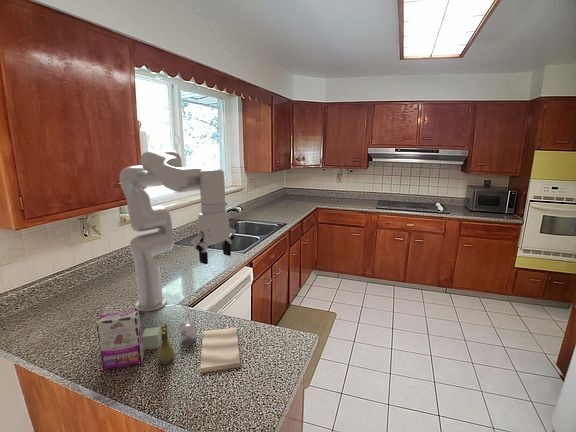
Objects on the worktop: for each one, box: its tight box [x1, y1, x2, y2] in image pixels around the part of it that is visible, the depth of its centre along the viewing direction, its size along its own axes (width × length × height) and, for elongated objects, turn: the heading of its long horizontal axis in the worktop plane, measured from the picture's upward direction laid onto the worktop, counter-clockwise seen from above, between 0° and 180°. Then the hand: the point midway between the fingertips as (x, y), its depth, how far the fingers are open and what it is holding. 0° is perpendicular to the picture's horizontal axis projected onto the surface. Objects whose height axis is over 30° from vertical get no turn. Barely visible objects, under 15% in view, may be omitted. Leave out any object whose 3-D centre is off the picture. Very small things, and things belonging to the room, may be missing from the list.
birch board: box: [199, 327, 241, 373], centre depth 106 cm, size 20×12×2 cm, turn 13°
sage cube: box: [142, 326, 162, 351], centre depth 108 cm, size 5×5×5 cm
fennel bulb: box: [157, 323, 175, 365], centre depth 99 cm, size 6×5×12 cm
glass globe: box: [179, 320, 197, 345], centre depth 111 cm, size 5×5×6 cm
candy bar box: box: [95, 309, 145, 371], centre depth 98 cm, size 11×5×16 cm, turn 105°
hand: (216, 259), depth 103 cm, fingers open, 9 cm apart
